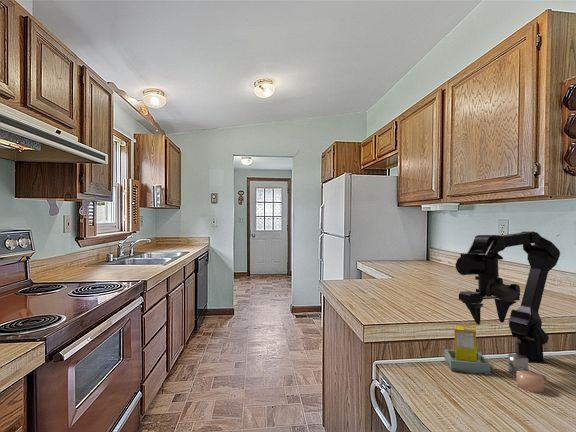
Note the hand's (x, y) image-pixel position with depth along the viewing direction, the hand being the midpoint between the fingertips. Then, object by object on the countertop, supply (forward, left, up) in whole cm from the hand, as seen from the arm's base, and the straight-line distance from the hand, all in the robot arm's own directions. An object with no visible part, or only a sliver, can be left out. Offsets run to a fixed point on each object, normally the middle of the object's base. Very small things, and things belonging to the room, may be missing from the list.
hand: (490, 323), depth 107 cm
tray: (+8, +3, -13) cm, 16 cm away
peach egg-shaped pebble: (-5, +15, -13) cm, 21 cm away
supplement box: (+8, +3, -12) cm, 15 cm away
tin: (-6, +4, -13) cm, 15 cm away
